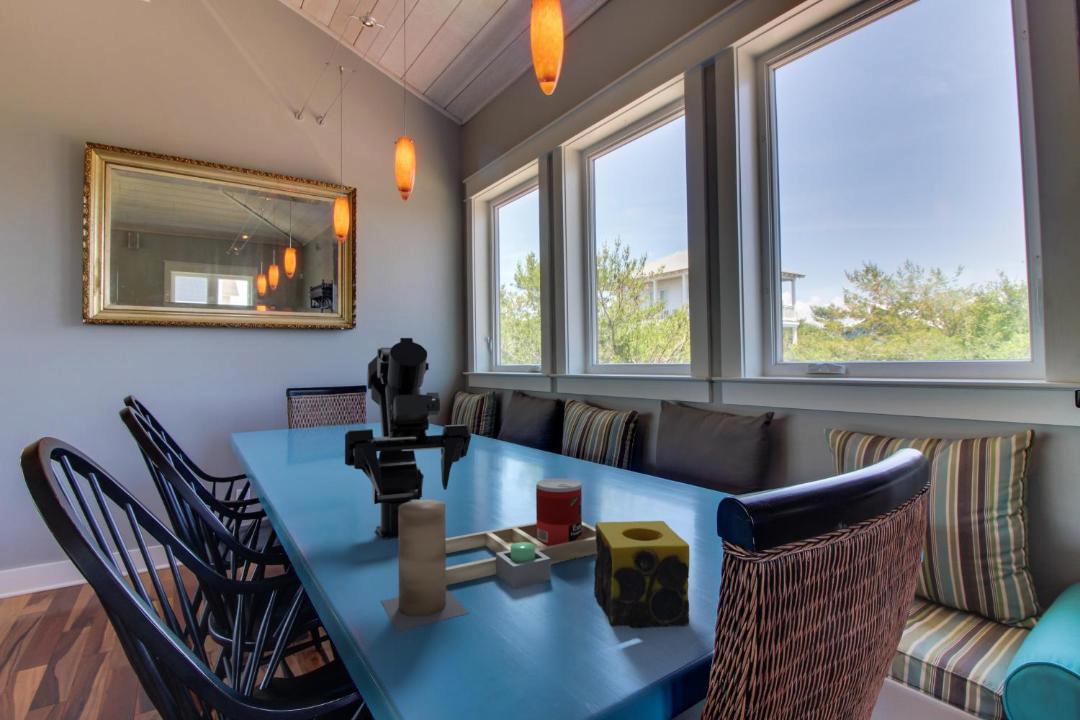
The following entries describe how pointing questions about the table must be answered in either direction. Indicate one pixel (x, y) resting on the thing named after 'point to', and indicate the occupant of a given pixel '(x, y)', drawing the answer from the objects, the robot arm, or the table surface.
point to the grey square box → (523, 569)
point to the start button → (522, 552)
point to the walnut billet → (422, 557)
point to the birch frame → (503, 541)
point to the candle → (641, 574)
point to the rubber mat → (407, 622)
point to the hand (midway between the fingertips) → (414, 491)
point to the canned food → (558, 511)
